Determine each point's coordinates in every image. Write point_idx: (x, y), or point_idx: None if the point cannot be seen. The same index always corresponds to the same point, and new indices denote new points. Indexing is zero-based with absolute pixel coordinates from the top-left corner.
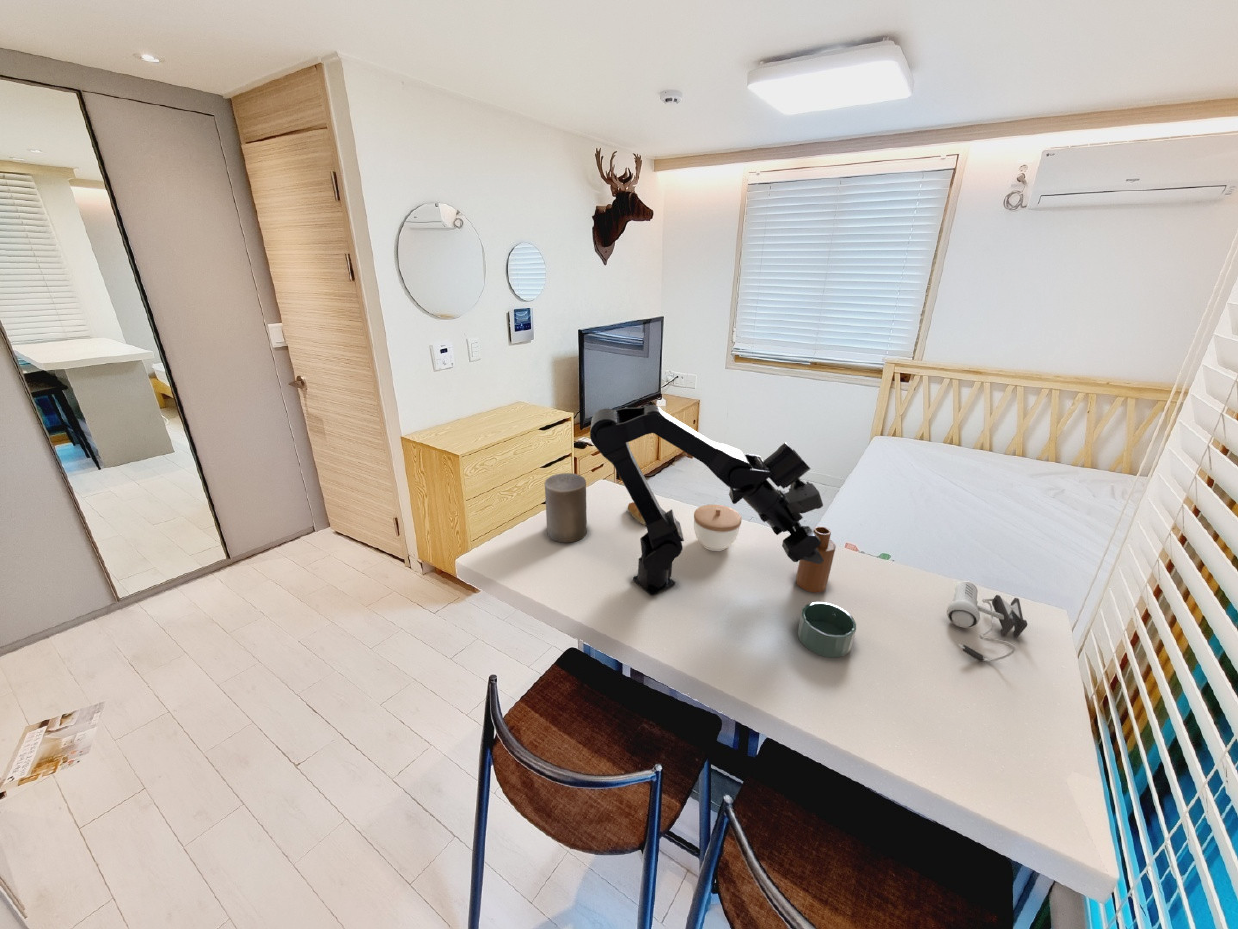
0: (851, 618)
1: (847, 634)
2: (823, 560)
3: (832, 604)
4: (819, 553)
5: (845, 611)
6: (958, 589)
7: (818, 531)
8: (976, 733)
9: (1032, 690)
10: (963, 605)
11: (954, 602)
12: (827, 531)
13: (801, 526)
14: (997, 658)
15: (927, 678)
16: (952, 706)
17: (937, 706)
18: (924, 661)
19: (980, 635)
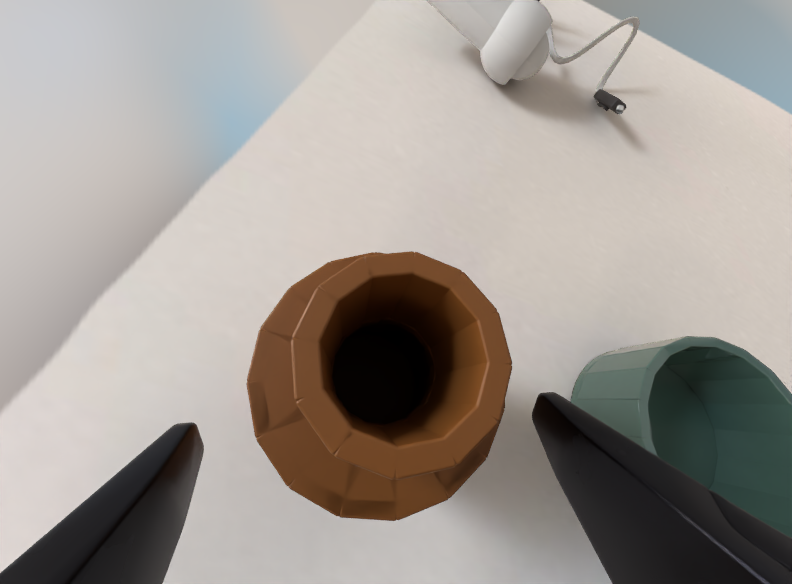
0: (697, 344)
1: (784, 390)
2: (561, 397)
3: (641, 390)
4: (682, 472)
5: (666, 352)
6: None
7: (326, 373)
8: (780, 206)
9: (644, 71)
10: (540, 17)
11: (517, 30)
12: (383, 284)
13: (111, 532)
14: (610, 70)
15: (683, 220)
16: (737, 212)
17: (750, 239)
18: (635, 201)
19: (562, 57)
